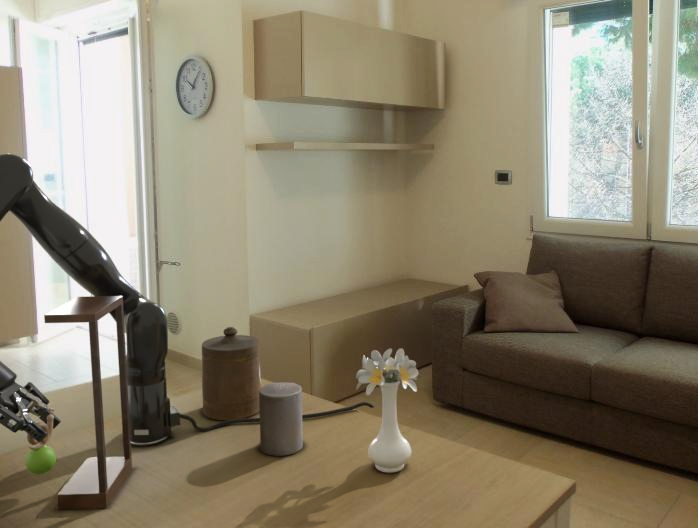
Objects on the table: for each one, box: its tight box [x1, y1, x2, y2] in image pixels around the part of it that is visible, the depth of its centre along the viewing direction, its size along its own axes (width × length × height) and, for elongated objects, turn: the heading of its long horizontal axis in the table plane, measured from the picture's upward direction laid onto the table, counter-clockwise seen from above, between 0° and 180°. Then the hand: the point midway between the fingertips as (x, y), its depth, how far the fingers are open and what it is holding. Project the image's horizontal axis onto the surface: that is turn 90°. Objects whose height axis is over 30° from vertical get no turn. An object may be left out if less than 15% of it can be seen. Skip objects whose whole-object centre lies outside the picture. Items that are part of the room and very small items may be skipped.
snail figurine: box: [25, 407, 57, 475], centre depth 135 cm, size 5×6×12 cm
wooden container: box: [201, 326, 262, 421], centre depth 177 cm, size 15×15×22 cm
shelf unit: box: [43, 295, 133, 511], centre depth 135 cm, size 9×16×38 cm, turn 3°
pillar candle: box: [258, 381, 304, 457], centre depth 155 cm, size 10×10×15 cm
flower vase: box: [355, 348, 420, 474], centre depth 145 cm, size 13×18×25 cm
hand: (50, 431), depth 135 cm, fingers closed on snail figurine, 5 cm apart
